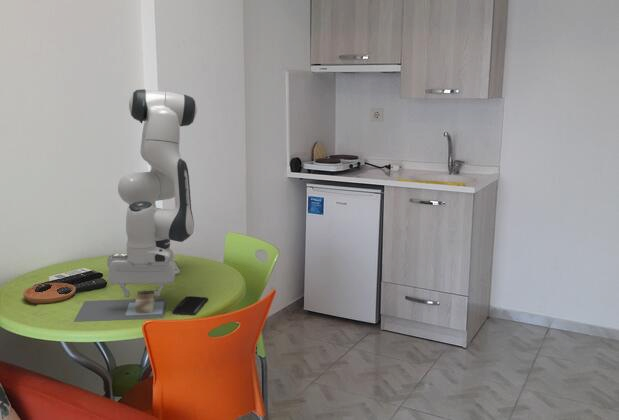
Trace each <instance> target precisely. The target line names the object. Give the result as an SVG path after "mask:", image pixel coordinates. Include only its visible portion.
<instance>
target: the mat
mask: <svg viewBox="0 0 619 420" xmlns="http://www.w3.org/2000/svg"><path fill="white" fill-rule="evenodd" d="M135 301H136V298H135V299H134V298H133V299H105V300H98V299H97V300H84V302H83V303H82V305H81V307H80V309H79V310H78V313H77V314H76V316H75V318H74V320H73V323H77V322H78V323H80V322H81V323H82V322H83V323H84V322H103V321H104V322H105V321H108V322H109V321H128V320H129V321H130V320H131V321H132V320H133V321H135V320H155V319H156V320H157V319H162V320H163V319H164V317H165V311H166V304H167V297H163V298H162V297H160V298H155V304H154V308H153V313H140V314H136V305H135Z"/></svg>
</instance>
